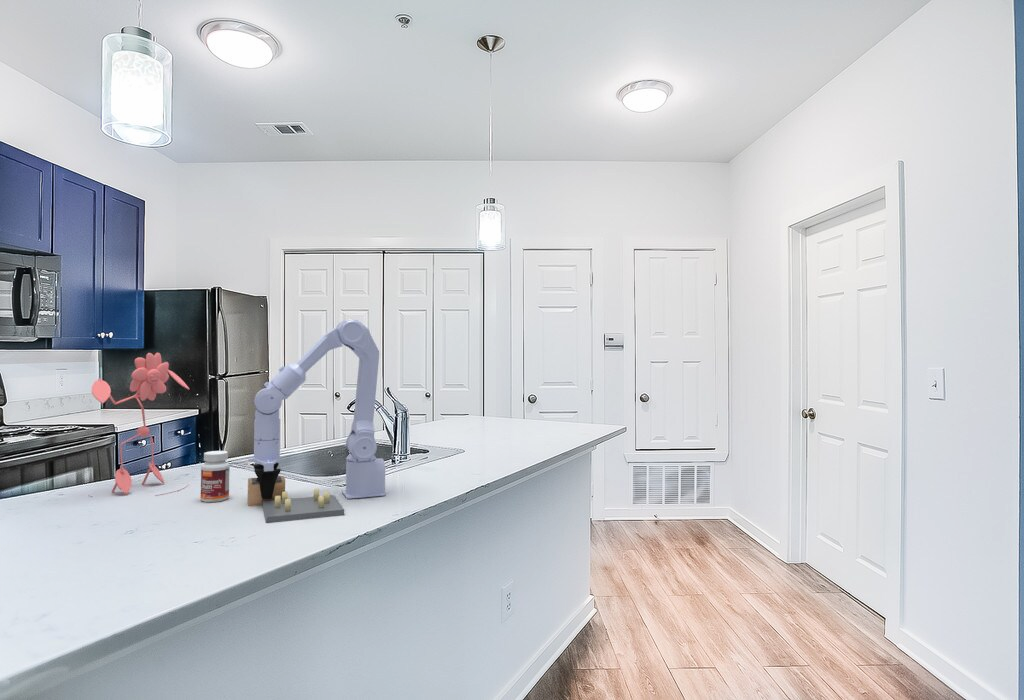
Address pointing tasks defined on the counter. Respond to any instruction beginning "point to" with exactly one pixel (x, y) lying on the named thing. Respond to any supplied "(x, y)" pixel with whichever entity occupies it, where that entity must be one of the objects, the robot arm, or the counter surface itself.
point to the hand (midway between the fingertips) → (266, 496)
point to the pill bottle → (215, 477)
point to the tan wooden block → (255, 492)
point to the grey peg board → (301, 507)
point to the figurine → (148, 384)
